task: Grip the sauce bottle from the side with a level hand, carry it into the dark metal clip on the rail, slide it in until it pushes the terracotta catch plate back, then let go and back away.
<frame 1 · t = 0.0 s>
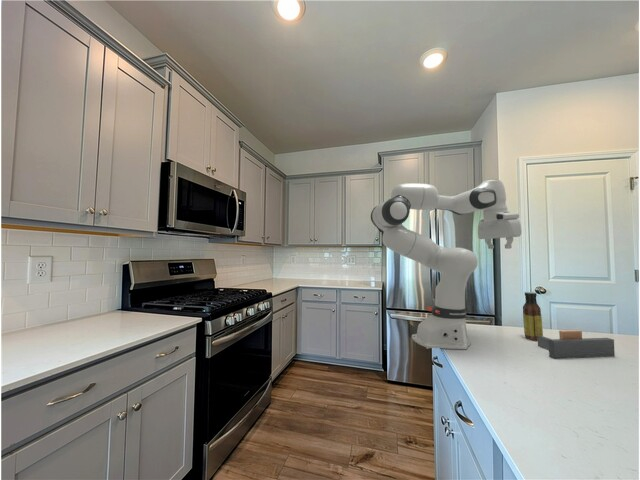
hand: (499, 248, 112), 39 cm above the countertop, tool pointing down, fingers open, 8 cm apart
sauce bottle: (533, 339, 112), on the countertop
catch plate: (570, 340, 97), point 4 cm above the countertop, slide at 0.0 cm
rail clip: (564, 350, 99), on the countertop
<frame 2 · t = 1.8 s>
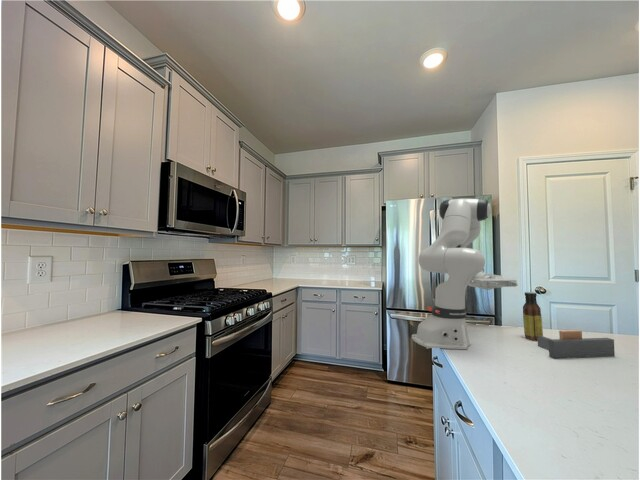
hand: (507, 284, 126), 22 cm above the countertop, tool horizontal, fingers open, 8 cm apart
nothing on the countertop moved.
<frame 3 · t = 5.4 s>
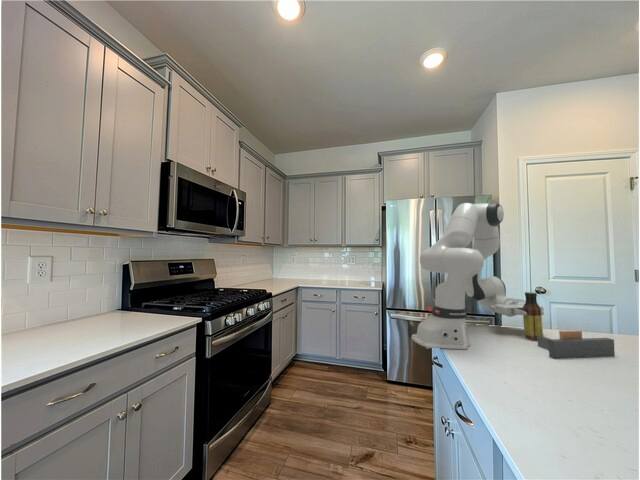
hand: (534, 313, 111), 11 cm above the countertop, tool horizontal, fingers closed on sauce bottle, 6 cm apart
sauce bottle: (533, 339, 112), on the countertop, touching gripper
everything else where it was.
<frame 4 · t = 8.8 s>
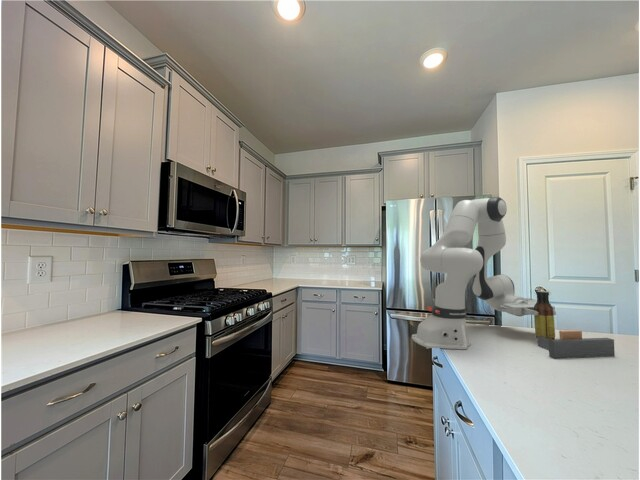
hand: (546, 313, 106), 12 cm above the countertop, tool horizontal, fingers closed on sauce bottle, 6 cm apart
sauce bottle: (544, 340, 107), point 1 cm above the countertop, touching gripper
everything else where it was.
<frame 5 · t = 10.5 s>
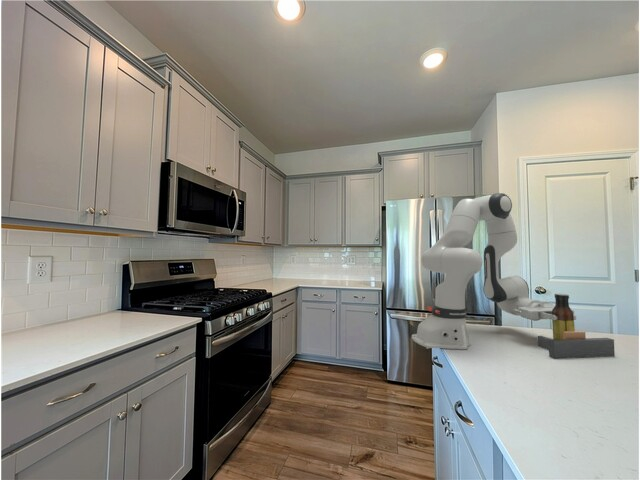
hand: (565, 317, 99), 12 cm above the countertop, tool horizontal, fingers closed on sauce bottle, 6 cm apart
sauce bottle: (563, 346, 99), point 1 cm above the countertop, touching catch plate, gripper
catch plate: (574, 341, 95), point 4 cm above the countertop, slide at 1.2 cm, touching sauce bottle
when the fingers open (12 cm above the countertop, at t = 11.8 s): sauce bottle drops 1 cm, on the countertop.
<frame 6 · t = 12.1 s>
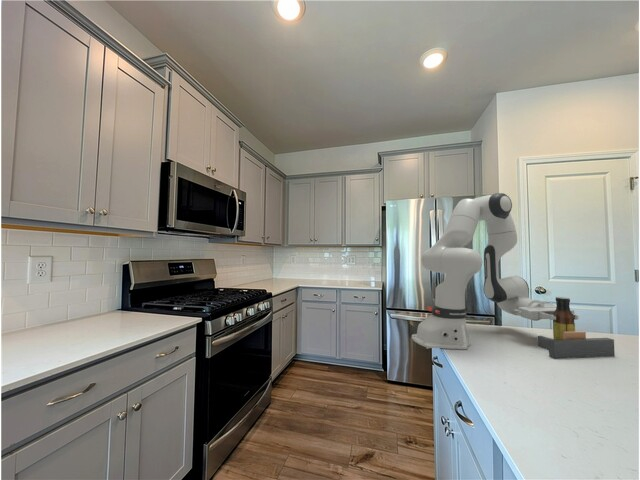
hand: (565, 317, 99), 12 cm above the countertop, tool horizontal, fingers open, 8 cm apart
sauce bottle: (563, 350, 99), on the countertop
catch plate: (574, 342, 95), point 4 cm above the countertop, slide at 1.3 cm
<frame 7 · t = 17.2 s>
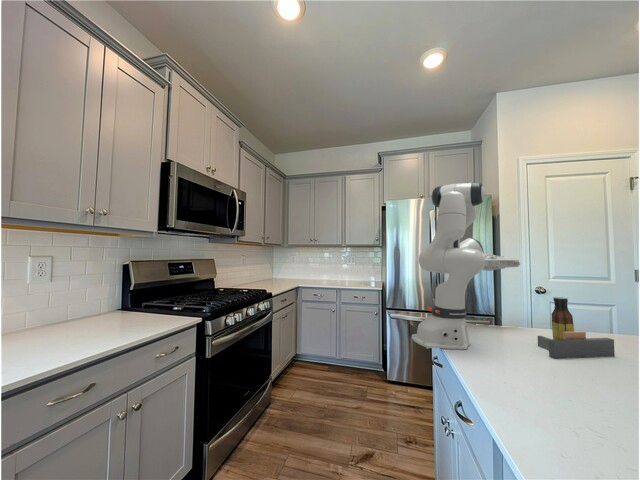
hand: (509, 263, 122), 32 cm above the countertop, tool horizontal, fingers open, 8 cm apart
nothing on the countertop moved.
at the end: sauce bottle 0.2 cm from the target spot, on the countertop; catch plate slide at 1.3 cm; sauce bottle tilted 0° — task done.
